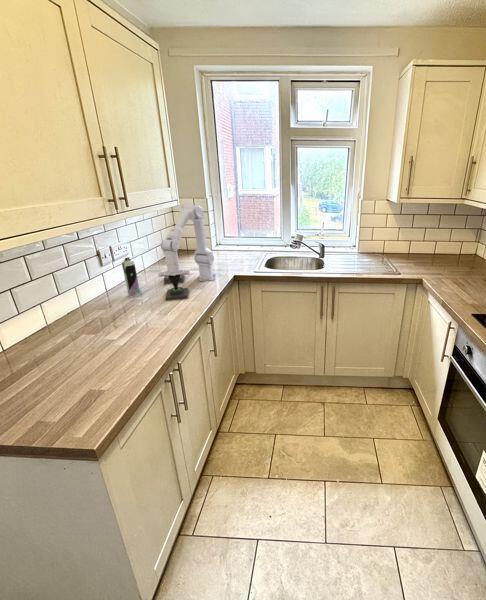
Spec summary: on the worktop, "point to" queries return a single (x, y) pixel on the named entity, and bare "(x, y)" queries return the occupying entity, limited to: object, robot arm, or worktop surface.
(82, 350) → the worktop surface
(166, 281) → the control panel
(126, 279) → the spray can
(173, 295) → the housing
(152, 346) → the worktop surface
